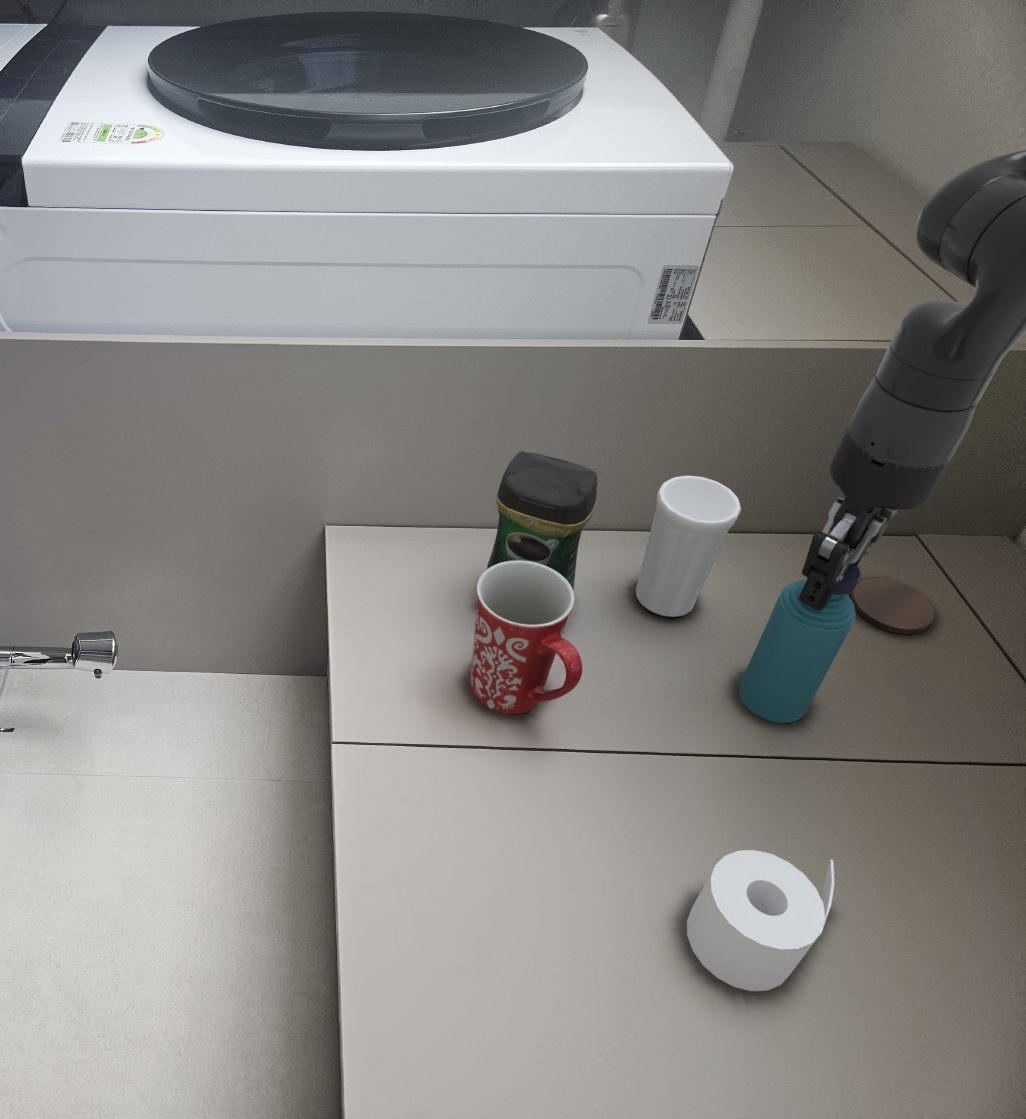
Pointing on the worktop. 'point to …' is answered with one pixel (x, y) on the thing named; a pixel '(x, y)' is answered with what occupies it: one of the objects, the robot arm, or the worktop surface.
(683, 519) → the cup
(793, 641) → the bottle
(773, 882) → the toilet paper
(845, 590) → the cap
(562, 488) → the coffee jar
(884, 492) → the robot arm
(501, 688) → the mug
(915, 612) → the coaster
